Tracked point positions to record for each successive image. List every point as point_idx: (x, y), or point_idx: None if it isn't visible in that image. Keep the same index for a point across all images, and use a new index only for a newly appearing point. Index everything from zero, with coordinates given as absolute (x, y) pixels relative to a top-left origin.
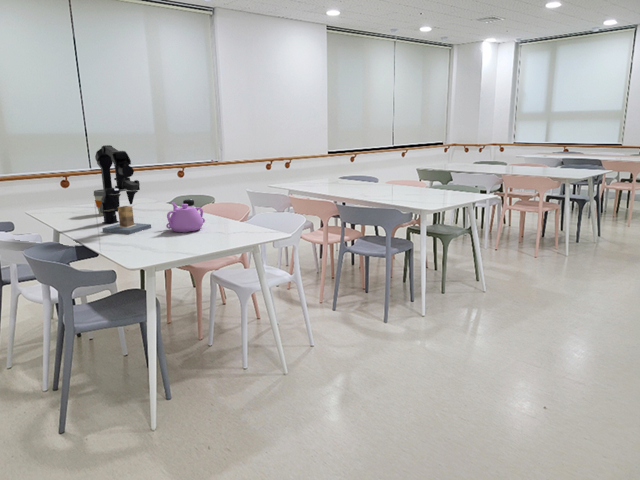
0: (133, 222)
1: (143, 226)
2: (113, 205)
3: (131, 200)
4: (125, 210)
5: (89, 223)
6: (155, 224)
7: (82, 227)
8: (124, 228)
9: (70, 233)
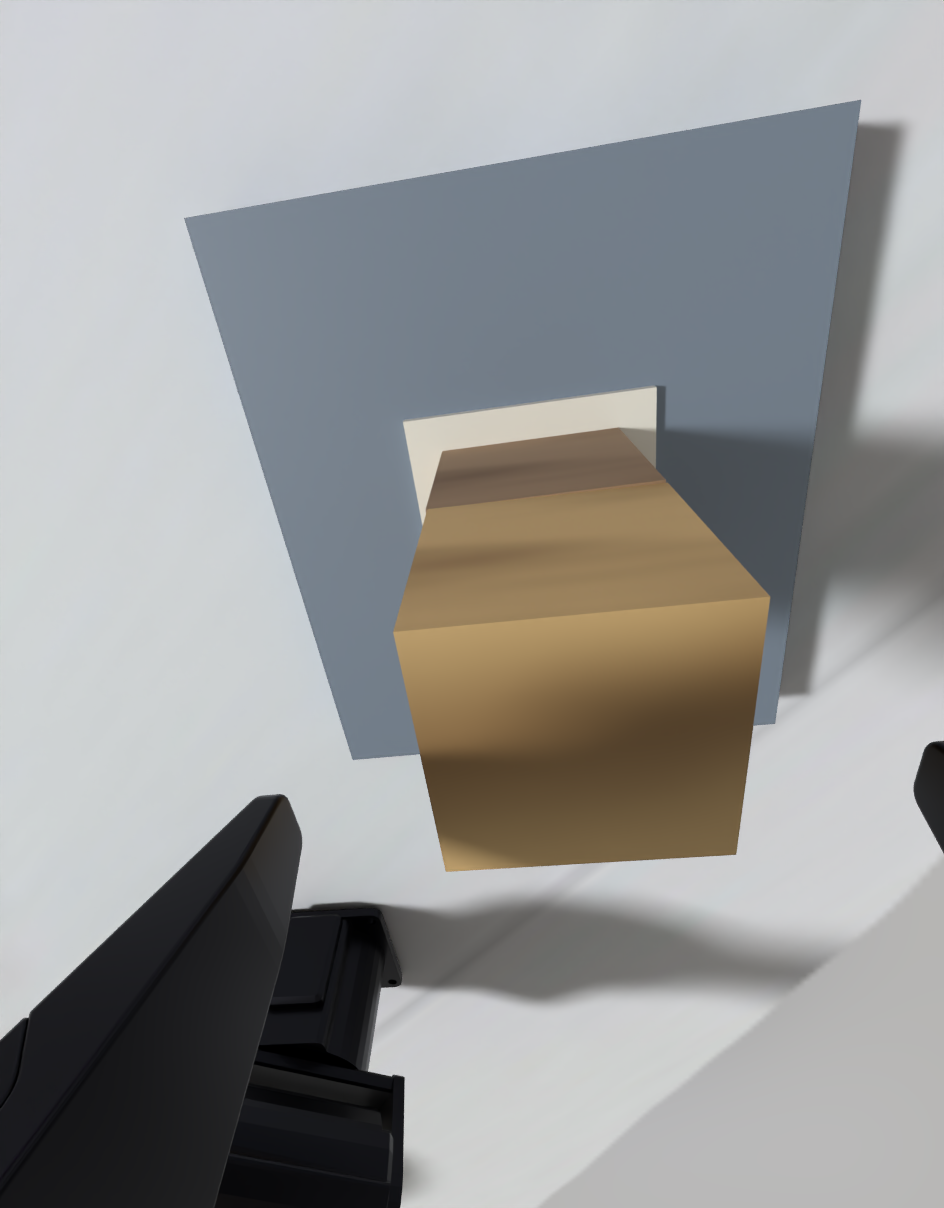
0: (450, 462)
1: (414, 179)
2: (267, 1151)
3: (219, 920)
4: (732, 557)
5: (456, 1038)
6: (9, 425)
7: (616, 982)
8: (716, 393)
9: (896, 895)
